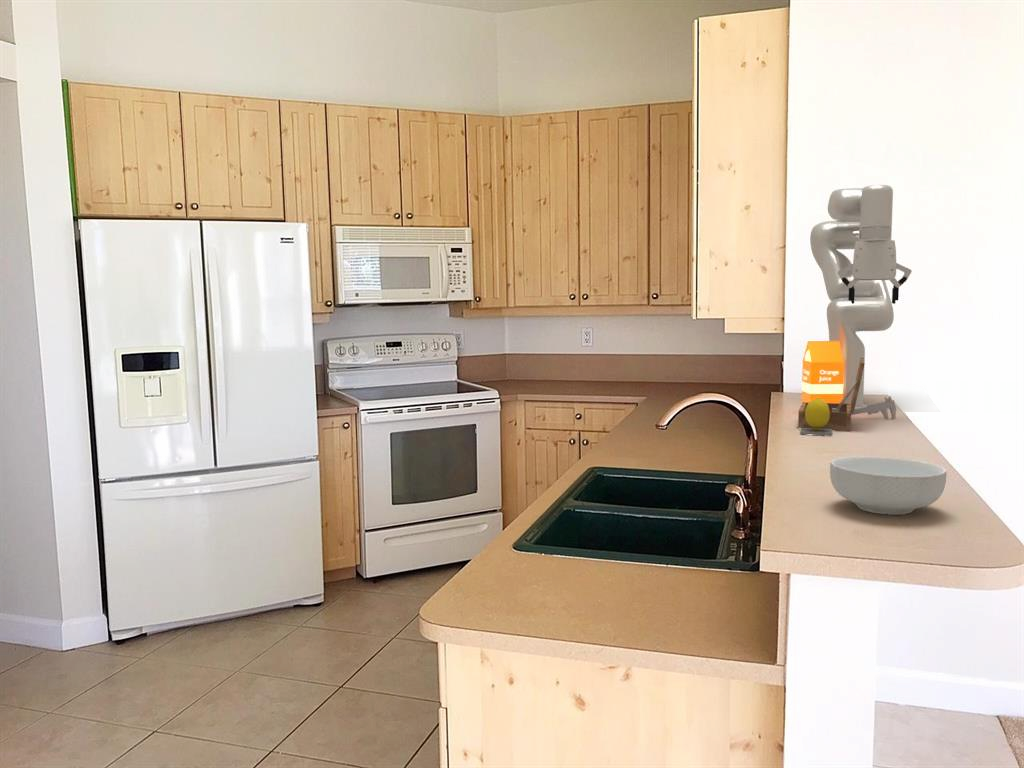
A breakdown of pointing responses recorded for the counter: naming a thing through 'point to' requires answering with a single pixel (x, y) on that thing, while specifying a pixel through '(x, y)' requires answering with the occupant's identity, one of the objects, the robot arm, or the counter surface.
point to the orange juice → (823, 372)
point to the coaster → (816, 431)
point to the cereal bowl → (887, 483)
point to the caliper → (878, 408)
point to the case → (837, 408)
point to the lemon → (817, 413)
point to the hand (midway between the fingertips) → (873, 303)
